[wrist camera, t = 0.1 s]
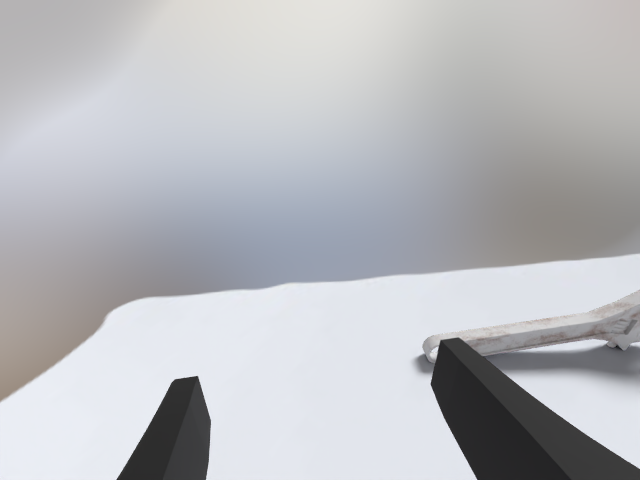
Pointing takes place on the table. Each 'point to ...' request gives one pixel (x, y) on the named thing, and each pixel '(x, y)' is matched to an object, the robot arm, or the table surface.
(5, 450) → the table surface
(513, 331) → the wrench
